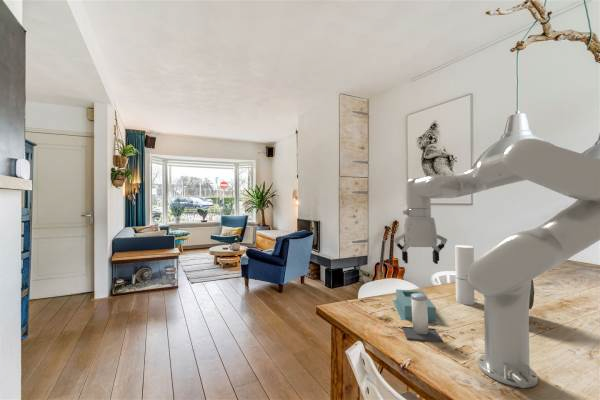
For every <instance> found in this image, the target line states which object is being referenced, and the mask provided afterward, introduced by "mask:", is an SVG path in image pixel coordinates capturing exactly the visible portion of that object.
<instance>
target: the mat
mask: <svg viewBox="0 0 600 400" xmlns="http://www.w3.org/2000/svg"><path fill="white" fill-rule="evenodd" d="M401 329H402V331H403V333H404V335H405V338H406V341H417V342H419V341H420V342H434V343H443V342H444V340H443V339H442V337H441V336H440V334H439V332H438V331H437V329H436V328H430V327H428V330H429V333H428V334H417V333H415V332H414V331H413V326H401Z"/></svg>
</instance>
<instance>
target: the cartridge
mask: <svg viewBox="0 0 600 400" xmlns="http://www.w3.org/2000/svg"><path fill="white" fill-rule="evenodd" d="M427 297H428V296H427V294H425V293H424V294H421V293H413V294H411V302H412V322H411V323H412V327H413V331H414V332H415V333H417V334H428V333H429V330H428V328H429V322H428V311H427Z"/></svg>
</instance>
